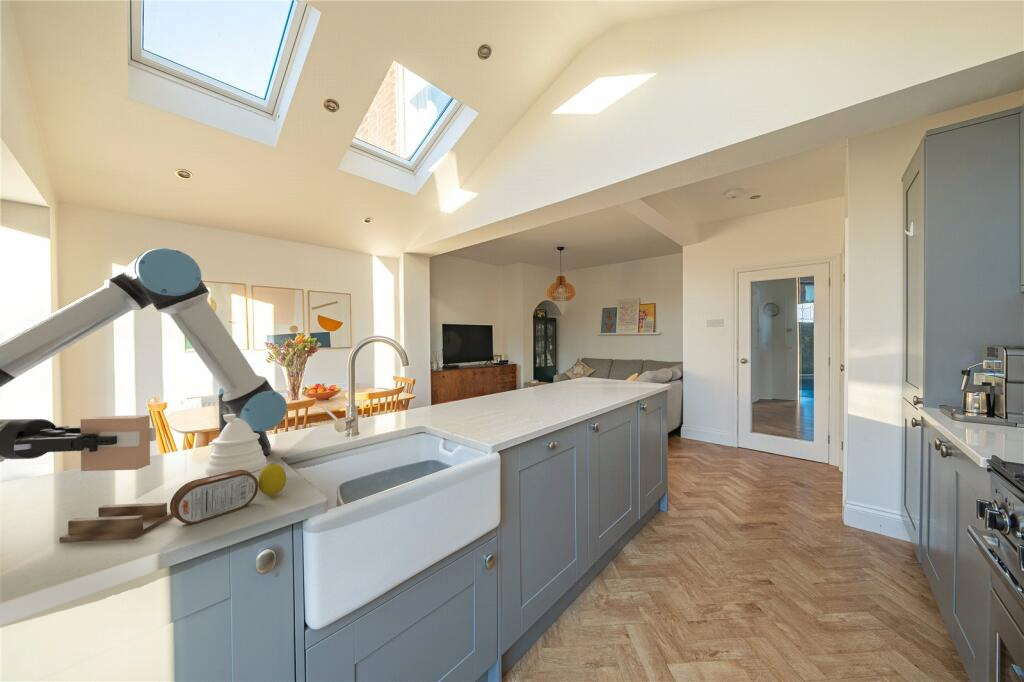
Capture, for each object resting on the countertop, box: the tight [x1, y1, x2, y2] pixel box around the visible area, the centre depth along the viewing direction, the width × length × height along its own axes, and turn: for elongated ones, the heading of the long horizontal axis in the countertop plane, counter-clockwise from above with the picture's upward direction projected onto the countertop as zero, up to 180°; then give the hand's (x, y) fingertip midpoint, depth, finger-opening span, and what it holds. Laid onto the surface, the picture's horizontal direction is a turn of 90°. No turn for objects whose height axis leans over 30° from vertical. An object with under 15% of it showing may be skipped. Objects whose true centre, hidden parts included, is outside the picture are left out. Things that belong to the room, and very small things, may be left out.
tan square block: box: [80, 414, 151, 472], centre depth 75 cm, size 10×3×10 cm, turn 94°
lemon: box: [258, 462, 287, 498], centre depth 90 cm, size 6×6×8 cm
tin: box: [169, 470, 259, 524], centre depth 81 cm, size 15×3×8 cm, turn 146°
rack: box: [58, 502, 174, 543], centre depth 75 cm, size 13×9×3 cm
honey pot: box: [204, 414, 267, 480], centre depth 99 cm, size 13×13×18 cm
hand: (145, 436), depth 76 cm, fingers closed on tan square block, 3 cm apart
